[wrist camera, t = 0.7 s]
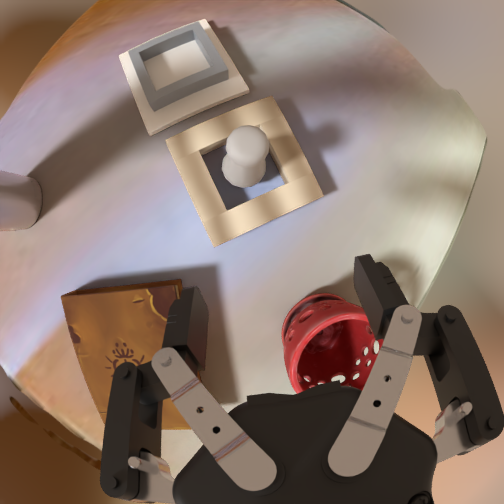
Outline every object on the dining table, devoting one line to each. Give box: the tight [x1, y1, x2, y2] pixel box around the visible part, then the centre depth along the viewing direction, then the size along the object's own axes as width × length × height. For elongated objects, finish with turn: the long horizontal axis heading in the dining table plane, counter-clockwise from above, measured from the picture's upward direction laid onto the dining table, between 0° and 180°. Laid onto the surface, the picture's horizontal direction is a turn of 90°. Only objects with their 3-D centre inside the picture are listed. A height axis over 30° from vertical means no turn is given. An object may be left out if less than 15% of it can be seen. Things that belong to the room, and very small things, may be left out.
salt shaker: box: [222, 125, 269, 188], centre depth 31 cm, size 6×6×13 cm
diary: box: [61, 279, 202, 430], centre depth 37 cm, size 23×19×6 cm
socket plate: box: [119, 19, 249, 136], centre depth 33 cm, size 16×18×4 cm
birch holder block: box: [165, 96, 324, 247], centre depth 36 cm, size 16×16×3 cm
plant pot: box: [282, 293, 384, 394], centre depth 34 cm, size 13×13×12 cm
